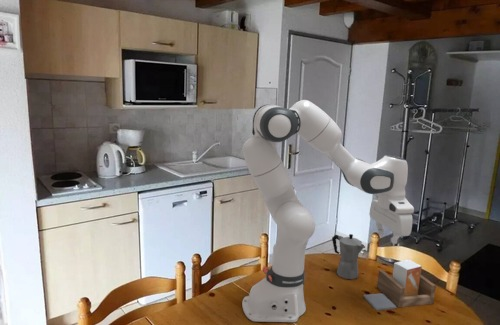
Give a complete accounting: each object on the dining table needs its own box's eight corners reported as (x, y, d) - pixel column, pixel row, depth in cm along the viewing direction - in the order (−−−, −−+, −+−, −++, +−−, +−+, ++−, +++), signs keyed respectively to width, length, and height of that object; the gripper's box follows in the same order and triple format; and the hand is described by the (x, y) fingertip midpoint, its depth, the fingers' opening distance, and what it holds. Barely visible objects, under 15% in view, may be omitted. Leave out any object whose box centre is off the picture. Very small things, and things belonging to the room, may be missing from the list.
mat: (376, 310, 128) (376, 308, 128) (363, 296, 137) (363, 294, 137) (396, 308, 130) (396, 306, 130) (382, 295, 139) (382, 293, 138)
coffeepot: (367, 276, 153) (371, 236, 149) (355, 283, 146) (359, 242, 143) (335, 263, 164) (339, 226, 160) (323, 270, 157) (327, 230, 154)
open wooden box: (398, 307, 131) (400, 288, 129) (377, 287, 144) (379, 270, 143) (433, 303, 134) (435, 285, 133) (409, 284, 147) (411, 267, 146)
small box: (403, 302, 134) (407, 269, 132) (389, 293, 140) (393, 262, 138) (418, 297, 138) (422, 265, 136) (404, 289, 144) (408, 258, 141)
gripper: (367, 193, 136) (363, 228, 138) (400, 210, 116) (395, 250, 119) (382, 193, 137) (378, 227, 140) (417, 209, 117) (412, 249, 120)
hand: (386, 238), depth 129 cm, fingers open, 7 cm apart
